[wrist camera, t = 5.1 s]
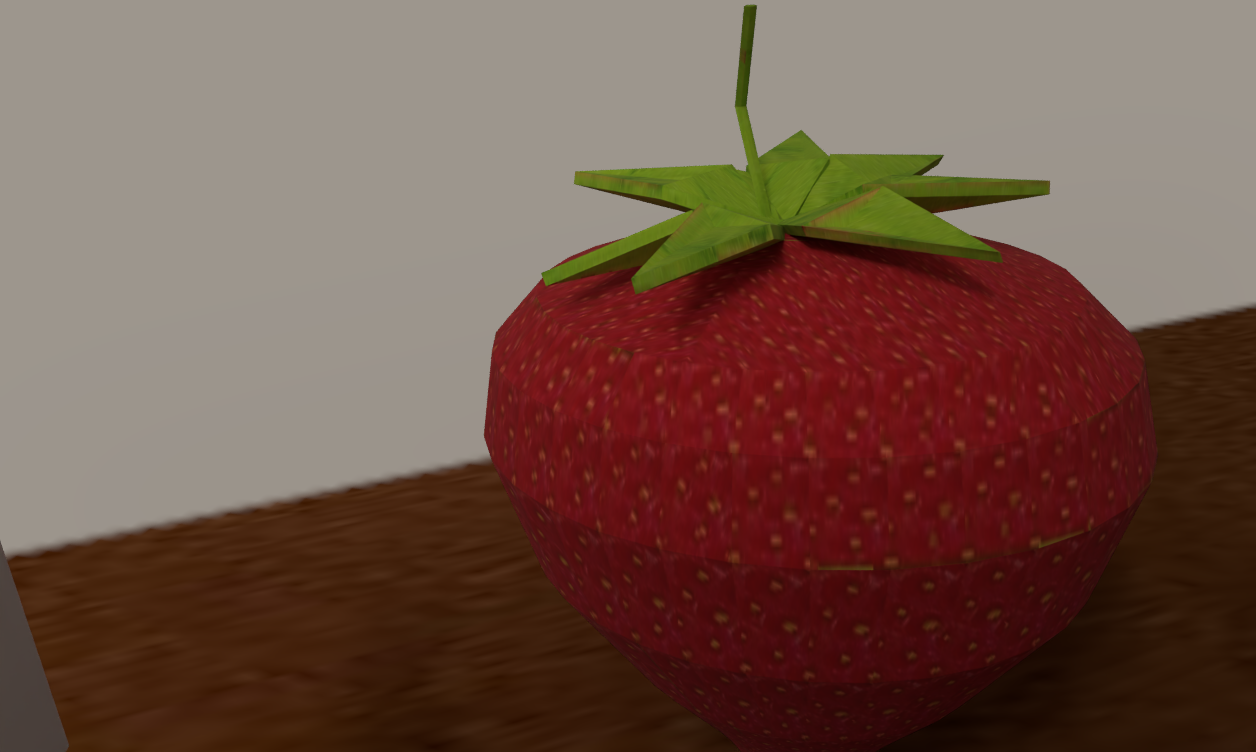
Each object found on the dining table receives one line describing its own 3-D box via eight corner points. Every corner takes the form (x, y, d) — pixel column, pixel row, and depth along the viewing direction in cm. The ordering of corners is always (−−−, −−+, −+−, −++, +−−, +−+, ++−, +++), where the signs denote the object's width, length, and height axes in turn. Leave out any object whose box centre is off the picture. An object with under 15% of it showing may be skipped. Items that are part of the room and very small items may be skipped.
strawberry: (1109, 1052, 12) (1257, 37, 8) (447, 883, 15) (299, 50, 10) (1106, 684, 17) (1196, -53, 13) (615, 607, 20) (560, -30, 15)
